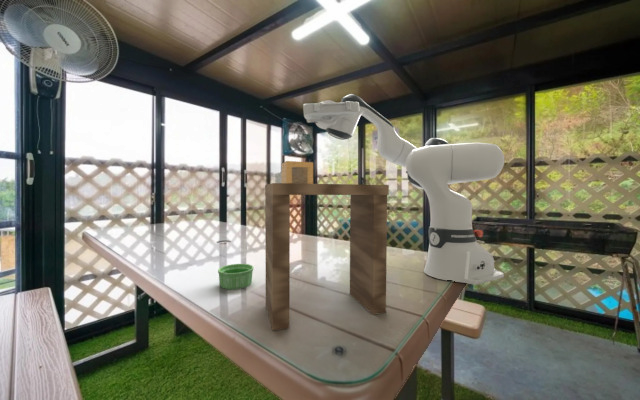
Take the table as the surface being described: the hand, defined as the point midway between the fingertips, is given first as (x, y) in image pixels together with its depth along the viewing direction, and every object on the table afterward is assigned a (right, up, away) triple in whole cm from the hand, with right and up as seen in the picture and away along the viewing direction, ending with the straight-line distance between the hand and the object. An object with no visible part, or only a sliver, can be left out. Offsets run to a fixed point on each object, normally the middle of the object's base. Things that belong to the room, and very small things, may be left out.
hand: (334, 104), depth 86 cm
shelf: (-4, -55, -32) cm, 63 cm away
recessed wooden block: (-12, -29, -30) cm, 43 cm away
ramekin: (-27, -55, -17) cm, 63 cm away
